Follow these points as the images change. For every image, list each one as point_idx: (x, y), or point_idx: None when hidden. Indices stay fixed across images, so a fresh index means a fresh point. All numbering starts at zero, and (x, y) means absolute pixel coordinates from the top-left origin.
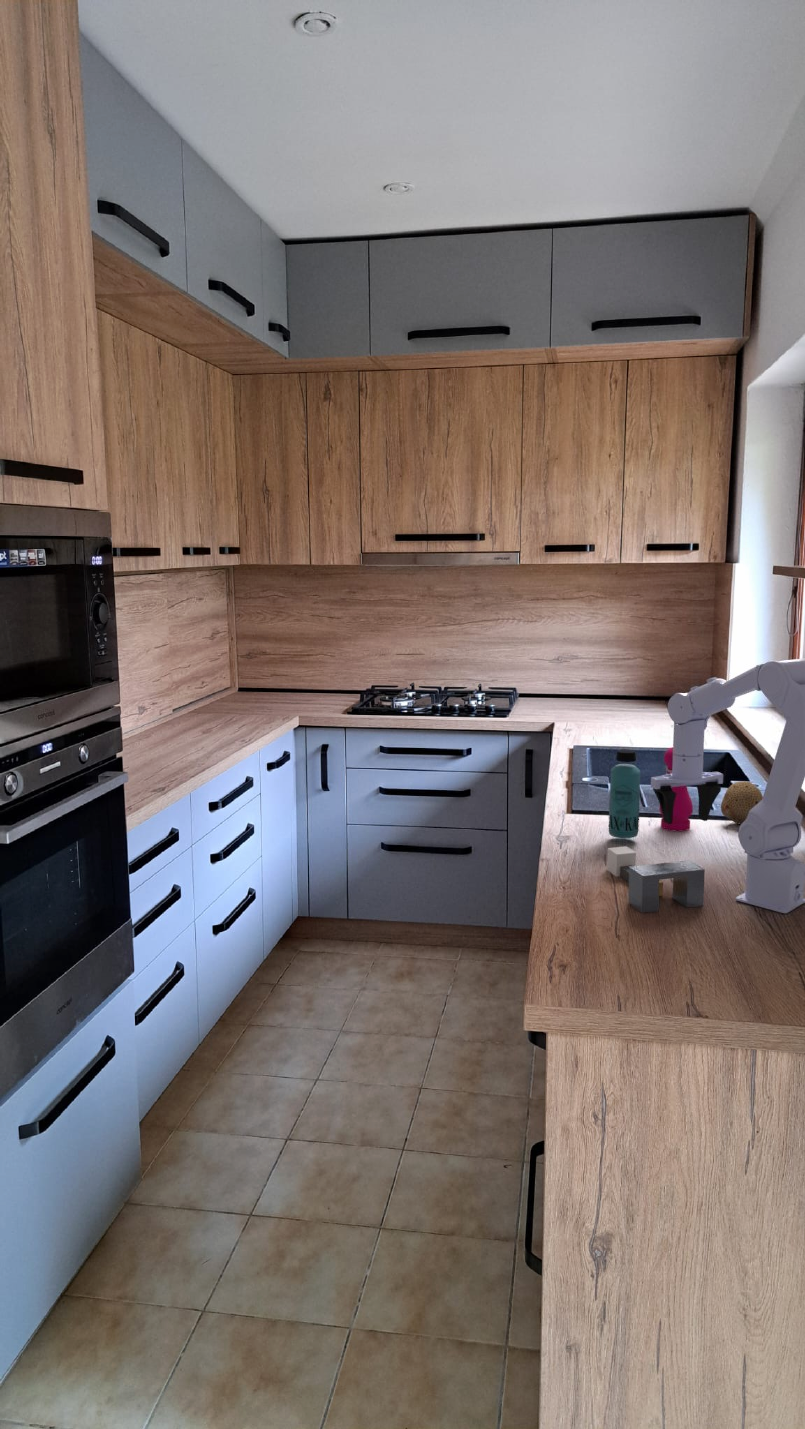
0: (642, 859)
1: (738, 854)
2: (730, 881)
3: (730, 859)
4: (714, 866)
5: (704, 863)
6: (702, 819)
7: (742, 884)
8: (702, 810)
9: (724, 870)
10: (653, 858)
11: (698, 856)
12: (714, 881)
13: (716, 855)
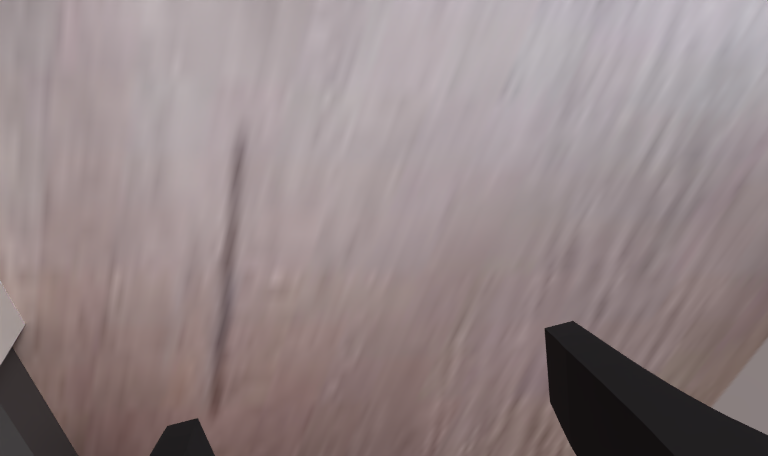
0: (97, 64)
1: (743, 13)
2: (486, 393)
3: (648, 102)
4: (507, 210)
5: (475, 161)
6: (550, 381)
7: (518, 420)
8: (592, 437)
9: (528, 267)
10: (181, 48)
11: (494, 31)
12: (417, 395)
13: (611, 21)
